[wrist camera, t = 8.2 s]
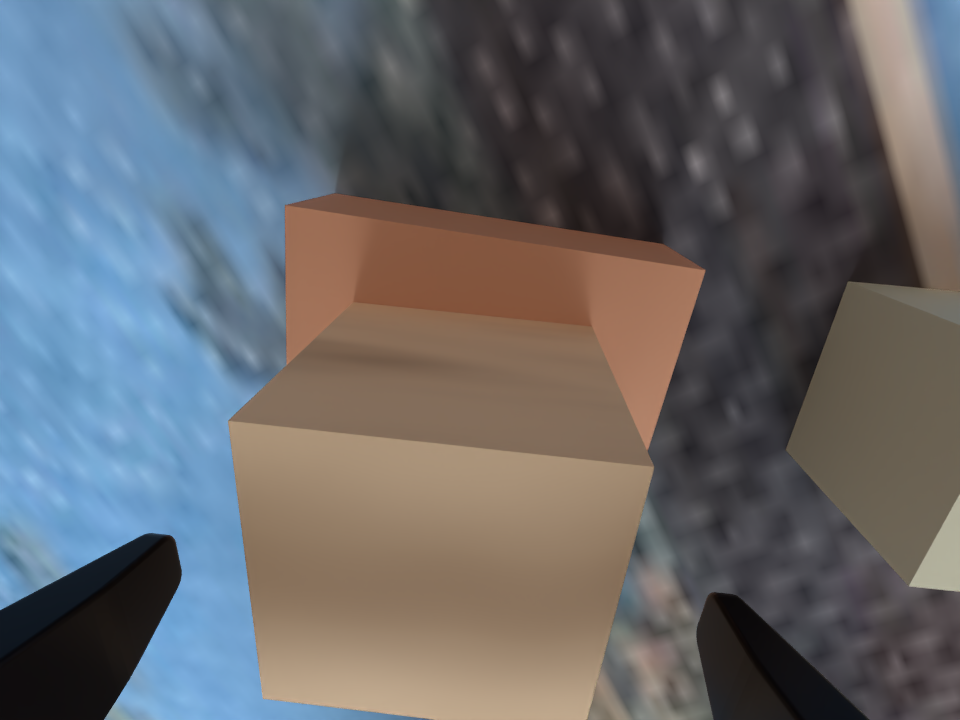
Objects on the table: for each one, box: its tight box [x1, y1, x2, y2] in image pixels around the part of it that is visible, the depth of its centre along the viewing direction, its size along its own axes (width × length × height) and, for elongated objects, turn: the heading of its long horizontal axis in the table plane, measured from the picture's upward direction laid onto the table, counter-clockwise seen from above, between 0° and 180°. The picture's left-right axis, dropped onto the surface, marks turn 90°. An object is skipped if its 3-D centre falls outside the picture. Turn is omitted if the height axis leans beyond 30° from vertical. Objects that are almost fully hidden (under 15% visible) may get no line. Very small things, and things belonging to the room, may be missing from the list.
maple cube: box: [228, 302, 654, 720], centre depth 11 cm, size 6×6×6 cm
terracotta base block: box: [285, 193, 706, 451], centre depth 16 cm, size 10×10×4 cm
